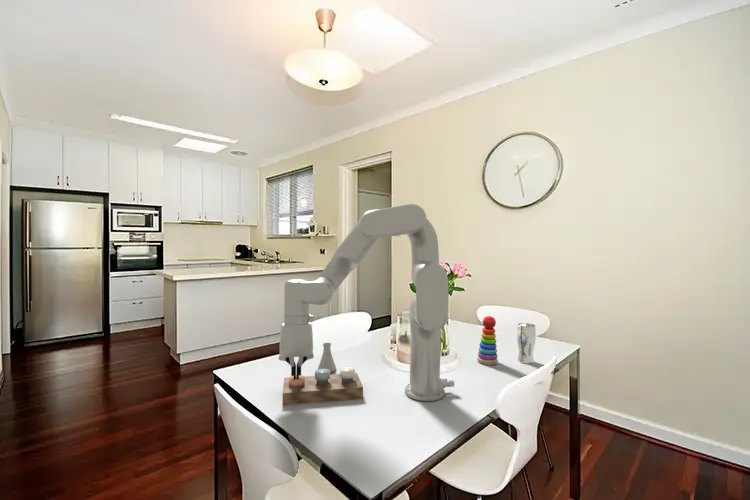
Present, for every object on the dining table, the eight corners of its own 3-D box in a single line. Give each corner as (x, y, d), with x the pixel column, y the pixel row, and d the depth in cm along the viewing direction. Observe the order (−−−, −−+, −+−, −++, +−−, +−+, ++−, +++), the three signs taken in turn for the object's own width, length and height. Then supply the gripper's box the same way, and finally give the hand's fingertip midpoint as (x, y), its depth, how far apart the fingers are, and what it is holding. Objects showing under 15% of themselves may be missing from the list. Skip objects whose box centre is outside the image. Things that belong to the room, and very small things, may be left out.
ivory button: (353, 383, 119) (353, 366, 119) (356, 389, 114) (356, 371, 114) (339, 384, 118) (339, 367, 118) (340, 390, 113) (341, 372, 113)
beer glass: (516, 362, 144) (517, 325, 144) (516, 357, 151) (517, 322, 150) (535, 365, 142) (536, 327, 141) (534, 359, 148) (535, 323, 148)
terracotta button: (304, 391, 116) (304, 374, 115) (304, 397, 111) (304, 380, 111) (288, 392, 115) (289, 375, 114) (288, 399, 110) (288, 381, 110)
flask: (333, 374, 130) (333, 347, 130) (314, 372, 132) (314, 345, 131) (339, 367, 137) (339, 341, 137) (321, 366, 139) (321, 340, 139)
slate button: (329, 384, 117) (329, 368, 117) (330, 391, 112) (330, 373, 112) (314, 386, 116) (314, 369, 116) (315, 392, 111) (315, 374, 111)
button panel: (356, 382, 123) (356, 372, 123) (362, 398, 111) (363, 387, 111) (284, 388, 118) (284, 377, 118) (282, 405, 106) (282, 393, 106)
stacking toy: (477, 364, 142) (478, 317, 141) (476, 358, 150) (477, 313, 149) (498, 366, 140) (499, 318, 140) (496, 359, 148) (497, 314, 147)
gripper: (320, 316, 117) (319, 371, 118) (272, 317, 114) (272, 374, 115) (321, 321, 110) (321, 380, 110) (270, 323, 107) (270, 384, 107)
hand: (296, 377), depth 112 cm, fingers closed
